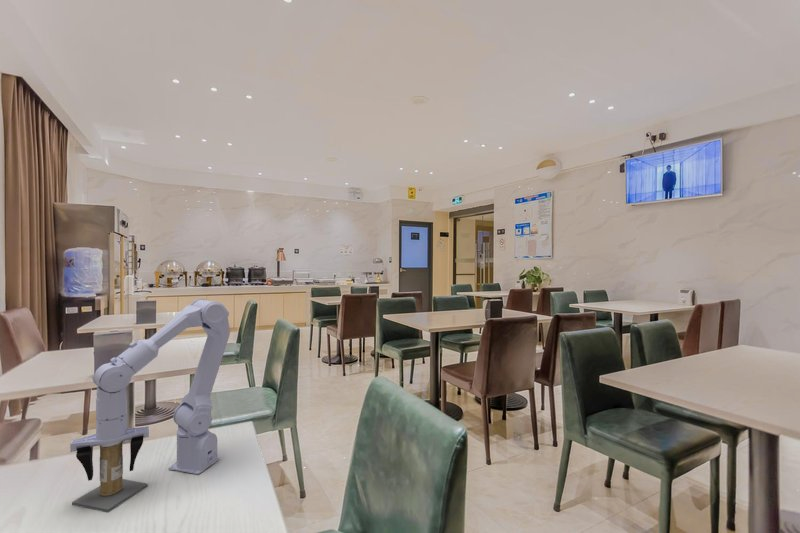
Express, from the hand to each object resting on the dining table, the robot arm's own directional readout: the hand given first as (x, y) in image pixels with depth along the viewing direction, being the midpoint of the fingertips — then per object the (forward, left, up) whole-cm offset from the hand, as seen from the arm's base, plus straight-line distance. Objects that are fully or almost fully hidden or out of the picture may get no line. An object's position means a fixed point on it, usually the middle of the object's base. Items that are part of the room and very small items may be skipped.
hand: (111, 473), depth 90 cm
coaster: (0, 0, -5) cm, 5 cm away
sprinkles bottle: (0, 0, -5) cm, 5 cm away
